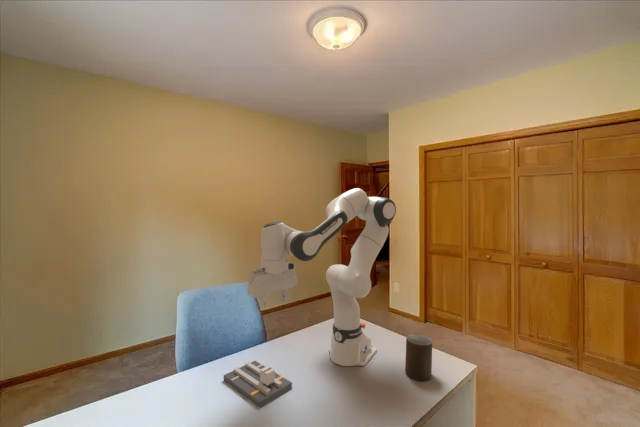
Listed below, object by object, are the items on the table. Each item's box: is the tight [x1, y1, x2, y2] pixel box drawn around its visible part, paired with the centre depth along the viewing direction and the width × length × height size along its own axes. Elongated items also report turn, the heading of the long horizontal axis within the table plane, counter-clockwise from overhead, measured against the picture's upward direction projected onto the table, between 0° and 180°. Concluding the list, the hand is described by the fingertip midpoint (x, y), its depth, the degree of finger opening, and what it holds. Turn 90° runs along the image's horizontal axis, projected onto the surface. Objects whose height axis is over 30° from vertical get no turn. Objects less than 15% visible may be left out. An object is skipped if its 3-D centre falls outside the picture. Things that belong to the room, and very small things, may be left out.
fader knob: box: [260, 365, 276, 387], centre depth 103 cm, size 3×4×5 cm
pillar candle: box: [404, 333, 433, 382], centre depth 114 cm, size 10×10×15 cm
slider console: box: [223, 360, 293, 409], centre depth 107 cm, size 14×22×3 cm, turn 48°
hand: (273, 303), depth 108 cm, fingers open, 8 cm apart
